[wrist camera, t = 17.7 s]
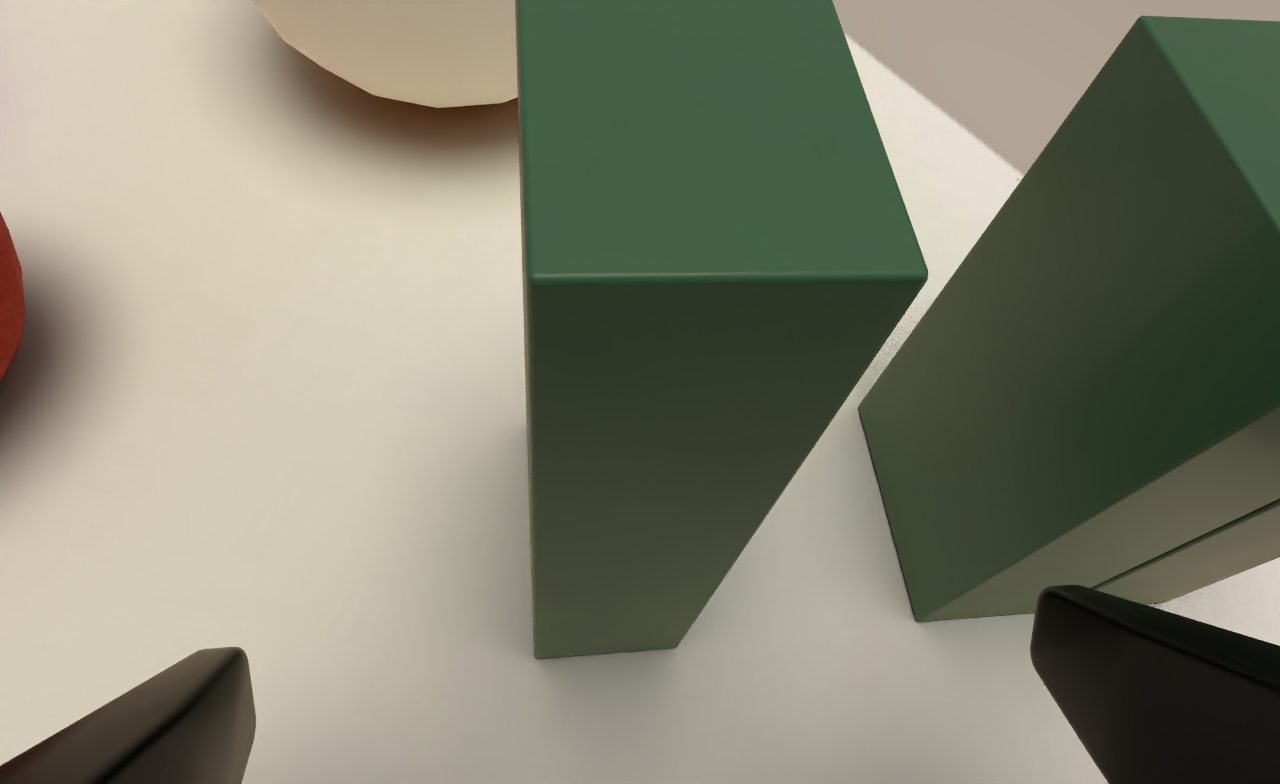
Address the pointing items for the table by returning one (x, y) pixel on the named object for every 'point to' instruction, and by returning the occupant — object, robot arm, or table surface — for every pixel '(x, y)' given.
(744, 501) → the green book
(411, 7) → the cup
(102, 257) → the table surface
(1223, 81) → the green books
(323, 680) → the table surface
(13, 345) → the apple
